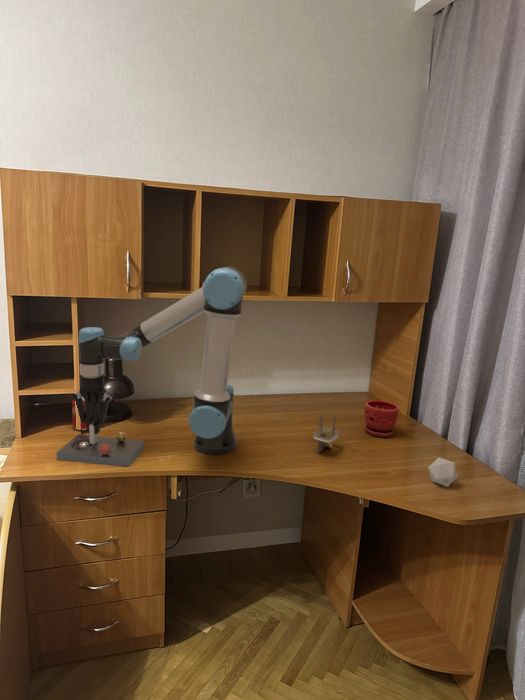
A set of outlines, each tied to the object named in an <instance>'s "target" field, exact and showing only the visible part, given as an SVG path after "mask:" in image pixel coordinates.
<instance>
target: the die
mask: <svg viewBox="0 0 525 700" xmlns="http://www.w3.org/2000/svg"><path fill="white" fill-rule="evenodd" d="M427 469H428V472H429V476H430V480H431V482H432V483H435V484H438V485H440V486H443V487H445V488H448V487H449V486H450V485H451V484H452V483H453V482H455V480H456V479H457V478H458V477H459V476H458V472H457V469H456V464H455V462H454V461H450V460H448V459H445V458H442V457H438V458H436V459H435V460H434V462H432V463H431V464H430V465H429V466H428V467H427Z"/></svg>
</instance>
